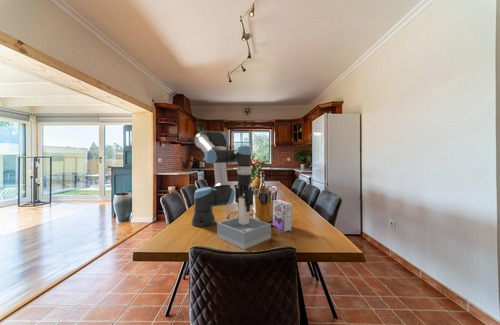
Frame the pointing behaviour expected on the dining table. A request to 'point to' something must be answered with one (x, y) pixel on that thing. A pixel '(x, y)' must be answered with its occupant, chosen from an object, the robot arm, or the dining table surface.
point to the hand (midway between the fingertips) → (243, 216)
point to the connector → (242, 211)
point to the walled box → (244, 232)
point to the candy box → (282, 215)
